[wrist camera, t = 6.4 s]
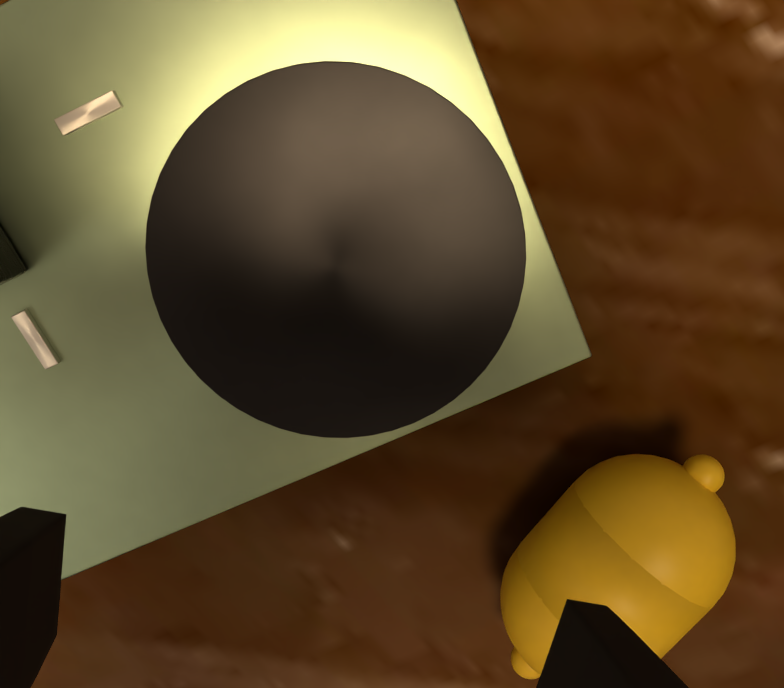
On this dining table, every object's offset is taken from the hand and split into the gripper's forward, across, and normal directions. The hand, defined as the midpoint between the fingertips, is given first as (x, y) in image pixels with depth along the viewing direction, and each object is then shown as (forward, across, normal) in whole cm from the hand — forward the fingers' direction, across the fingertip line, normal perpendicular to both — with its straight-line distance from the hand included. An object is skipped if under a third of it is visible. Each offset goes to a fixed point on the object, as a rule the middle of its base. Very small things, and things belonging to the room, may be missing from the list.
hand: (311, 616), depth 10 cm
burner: (+7, +1, -4) cm, 8 cm away
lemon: (+9, -8, +3) cm, 13 cm away
